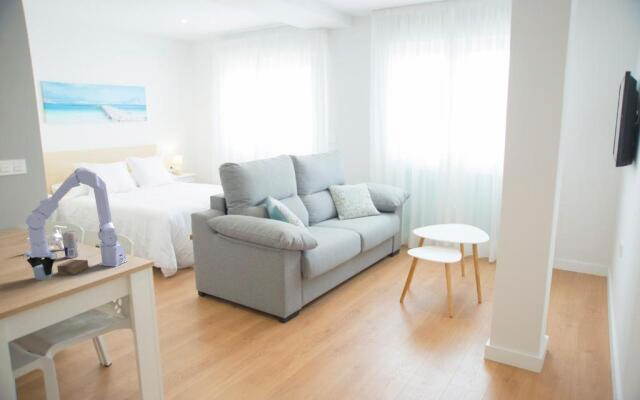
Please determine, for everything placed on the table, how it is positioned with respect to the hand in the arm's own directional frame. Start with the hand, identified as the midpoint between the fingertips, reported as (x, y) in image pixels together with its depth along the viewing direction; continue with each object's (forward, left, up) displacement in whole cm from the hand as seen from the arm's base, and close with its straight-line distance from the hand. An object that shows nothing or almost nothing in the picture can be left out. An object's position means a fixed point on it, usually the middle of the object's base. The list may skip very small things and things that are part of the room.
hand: (43, 274), depth 176 cm
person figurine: (+30, -30, -2) cm, 43 cm away
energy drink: (+11, -25, -2) cm, 27 cm away
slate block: (0, 0, -1) cm, 1 cm away
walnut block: (-6, -9, -2) cm, 11 cm away
